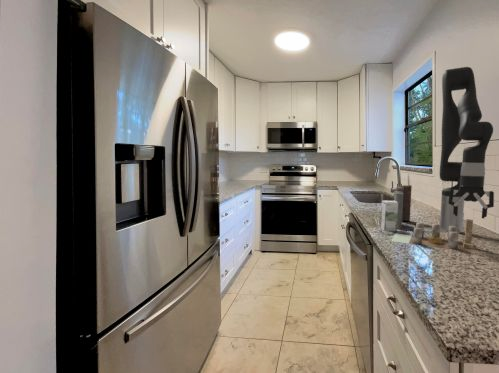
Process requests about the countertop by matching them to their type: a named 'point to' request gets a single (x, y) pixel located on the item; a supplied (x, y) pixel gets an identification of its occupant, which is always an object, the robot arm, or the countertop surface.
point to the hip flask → (399, 205)
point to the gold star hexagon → (435, 239)
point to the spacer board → (444, 244)
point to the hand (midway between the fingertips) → (469, 217)
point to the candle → (406, 202)
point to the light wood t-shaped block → (468, 234)
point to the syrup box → (389, 215)
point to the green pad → (401, 238)
